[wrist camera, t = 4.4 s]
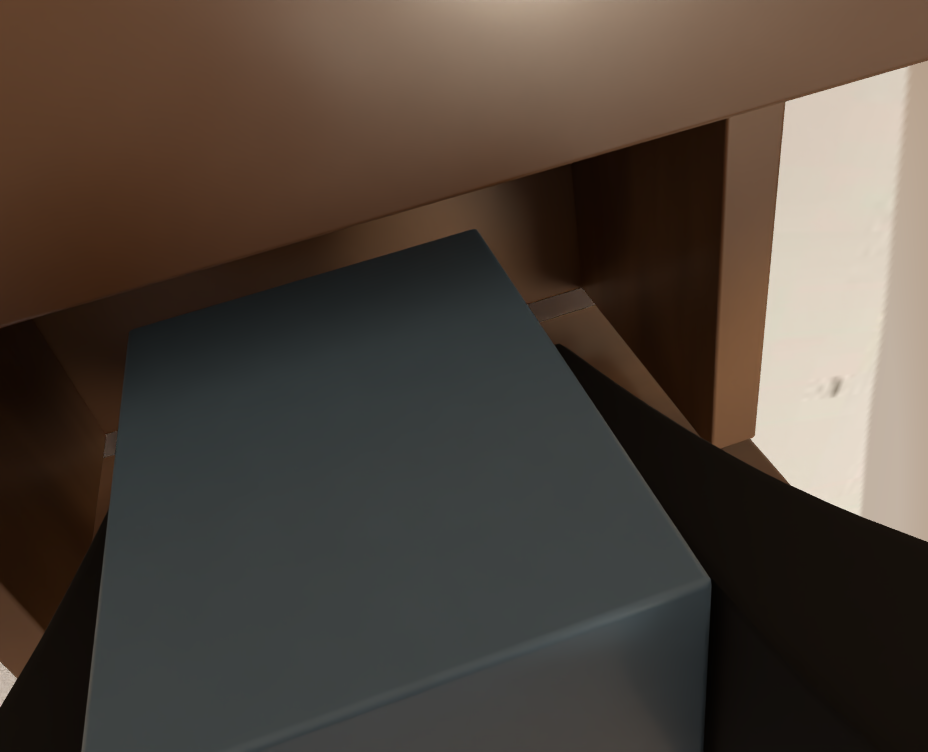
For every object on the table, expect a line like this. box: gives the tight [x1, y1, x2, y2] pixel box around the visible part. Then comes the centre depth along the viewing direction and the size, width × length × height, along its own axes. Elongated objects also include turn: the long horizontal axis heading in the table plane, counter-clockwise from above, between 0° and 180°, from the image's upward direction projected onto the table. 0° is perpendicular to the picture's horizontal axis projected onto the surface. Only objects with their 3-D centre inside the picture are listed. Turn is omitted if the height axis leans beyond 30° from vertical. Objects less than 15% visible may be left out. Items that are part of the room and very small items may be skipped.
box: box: [81, 229, 712, 752], centre depth 9 cm, size 5×5×6 cm
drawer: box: [0, 102, 790, 679], centre depth 14 cm, size 18×13×7 cm
